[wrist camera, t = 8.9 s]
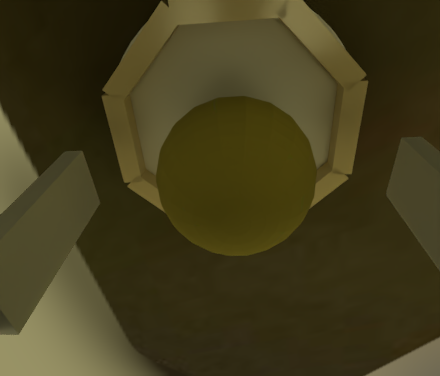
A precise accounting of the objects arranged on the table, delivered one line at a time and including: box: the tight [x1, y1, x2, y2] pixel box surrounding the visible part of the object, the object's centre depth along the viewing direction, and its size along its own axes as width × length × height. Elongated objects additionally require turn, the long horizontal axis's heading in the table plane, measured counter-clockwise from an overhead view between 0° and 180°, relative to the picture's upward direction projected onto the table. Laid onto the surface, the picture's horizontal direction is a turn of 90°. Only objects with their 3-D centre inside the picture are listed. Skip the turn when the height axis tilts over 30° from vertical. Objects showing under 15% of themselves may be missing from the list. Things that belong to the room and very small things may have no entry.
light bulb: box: [156, 96, 317, 256], centre depth 15 cm, size 7×7×10 cm
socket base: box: [102, 0, 368, 212], centre depth 19 cm, size 15×15×2 cm
